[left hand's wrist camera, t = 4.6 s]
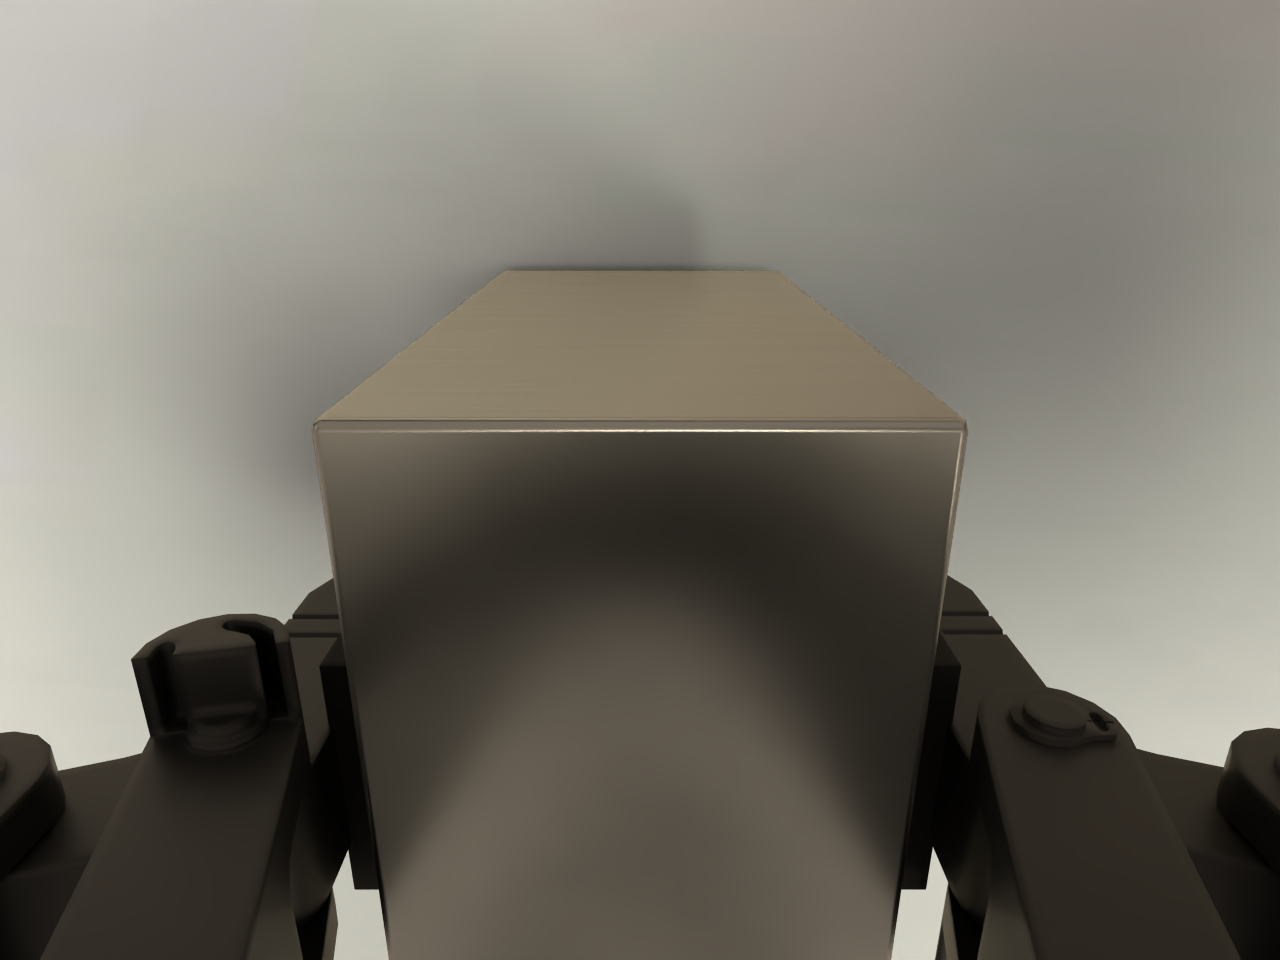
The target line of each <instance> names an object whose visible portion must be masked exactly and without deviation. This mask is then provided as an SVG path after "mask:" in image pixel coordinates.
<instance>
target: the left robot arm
mask: <svg viewBox="0 0 1280 960" xmlns="http://www.w3.org/2000/svg"><path fill="white" fill-rule="evenodd" d="M131 661H132V665H133V669H134V673H135V677H136V681H137V685H138V689H139V693H140V697H141V701H142V705H143V709H144V713H145V717H146V721H147V725H148V729H149V733H150V738H149V740H148V742H147V744H146V746H145V748H144V750H143V752H142V753H141V754H137V755H133V756H129V757H125V758H121V759H116V760H111V761H106V762H101V763H96V764H91V765H86V766H81V767H76V768H71V769H66V770H61V771H58V769H57V766H56V763H55V759H54V756H53V753H52V749H51V746H50V745H49V744H48V743H47V742H45V741H44V740H43V739H42V738H40V737H39V736H38V735H33V734H27V733H20V732H6V733H0V960H333V959H334V951H335V943H336V935H337V927H338V920H337V912H336V905H335V899H334V893H333V887H332V886H333V884H334V882H335V879H336V877H337V875H338V872H339V870H340V868H341V865H342V863H343V860H344V858H345V856H346V853H347V851H349V857H350V863H351V869H352V876H353V882H354V888H355V889H379V887H378V880H377V873H376V866H375V859H374V853H373V846H372V839H371V832H370V825H369V818H368V811H367V804H366V798H365V791H364V784H363V777H362V770H361V763H360V756H359V749H358V743H357V736H356V729H355V722H354V715H353V708H352V701H351V694H350V688H349V681H348V674H347V667H346V660H345V653H344V646H343V639H342V633H341V626H340V619H339V612H338V605H337V598H336V591H335V584H334V578H333V579H331V580H329V581H328V582H326V583H325V584H323V585H321V586H320V587H318V588H317V589H315V590H313V591H312V592H310V593H309V594H308V595H307V597H306V598H305V599H304V601H303V602H302V603H301V604H300V606H299V607H298V608H297V610H296V611H295V612H294V614H293V617H292V619H289V620H288V621H287V623H286V624H285V625H283V624H282V623H281V622H280V621H278V620H277V619H275V618H271V617H267V616H262V615H258V614H227V615H221V616H216V617H211V618H205V619H200V620H197V621H194V622H191V623H188V624H185V625H183V626H180V627H177V628H174V629H171V630H169V631H167V632H166V633H164V634H162V635H160V636H159V637H157V638H155V639H154V640H152V641H150V642H148V643H147V644H145V645H144V647H143V648H142V649H141V650H140V651H139V652H138V653H137V654H136V655H135V656H134V657H133V658H132V659H131ZM932 848H934V850H935V852H936V855H937V857H938V859H939V862H940V864H941V866H942V869H943V871H944V873H945V876H946V878H947V880H948V887H947V893H946V899H945V905H944V910H943V916H942V922H941V928H940V934H939V940H938V945H937V951H936V957H935V960H1280V729H1275V728H1263V729H1256V730H1250V731H1244V732H1243V733H1242V734H1240V735H1239V736H1238V737H1237V738H1236V739H1234V740H1233V741H1232V742H1231V745H1230V749H1229V752H1228V755H1227V759H1226V762H1225V765H1224V767H1219V766H1214V765H1209V764H1204V763H1199V762H1194V761H1189V760H1184V759H1179V758H1174V757H1169V756H1164V755H1159V754H1155V753H1151V752H1147V751H1143V750H1139V749H1136V747H1135V745H1134V743H1133V741H1132V739H1131V737H1130V735H1129V734H1128V733H1127V731H1126V730H1125V729H1124V728H1123V726H1122V725H1121V724H1120V723H1119V721H1118V720H1117V719H1116V718H1115V717H1114V716H1112V715H1111V714H1109V713H1108V712H1106V711H1105V710H1103V709H1102V708H1100V707H1099V706H1097V705H1096V704H1094V703H1093V702H1090V701H1088V700H1086V699H1083V698H1081V697H1078V696H1076V695H1074V694H1071V693H1069V692H1066V691H1062V690H1058V689H1053V688H1048V687H1046V685H1045V684H1044V683H1043V681H1042V680H1041V679H1040V678H1039V676H1038V675H1037V674H1036V672H1035V671H1034V670H1033V669H1032V667H1031V666H1030V665H1029V663H1028V662H1027V661H1026V660H1025V658H1024V657H1023V656H1022V654H1021V653H1020V652H1019V650H1018V649H1017V648H1016V647H1015V645H1014V644H1013V643H1012V641H1011V640H1010V639H1009V638H1008V636H1007V635H1003V630H1002V628H1001V627H1000V626H999V625H998V623H997V622H996V621H995V619H994V618H993V617H992V616H989V612H988V610H987V609H986V608H985V607H984V605H983V604H982V603H981V601H980V600H979V599H978V597H977V596H976V595H975V594H974V592H973V591H972V590H971V589H969V588H967V587H966V586H964V585H963V584H961V583H959V582H958V581H956V580H954V579H953V578H951V577H950V576H948V575H947V579H946V585H945V592H944V599H943V606H942V613H941V620H940V627H939V634H938V640H937V647H936V654H935V661H934V668H933V675H932V682H931V688H930V695H929V702H928V709H927V716H926V723H925V730H924V736H923V743H922V750H921V757H920V764H919V771H918V778H917V784H916V791H915V798H914V805H913V812H912V819H911V826H910V833H909V839H908V846H907V853H906V860H905V867H904V874H903V881H902V887H901V889H926V886H927V879H928V873H929V867H930V861H931V854H932Z"/></svg>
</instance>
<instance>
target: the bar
mask: <svg viewBox="0 0 1280 960" xmlns="http://www.w3.org/2000/svg"><path fill="white" fill-rule="evenodd" d="M312 433H313V440H314V447H315V454H316V461H317V468H318V475H319V481H320V488H321V495H322V502H323V509H324V516H325V523H326V529H327V536H328V543H329V550H330V557H331V564H332V571H333V578H334V584H335V591H336V598H337V605H338V612H339V619H340V626H341V633H342V639H343V646H344V653H345V660H346V667H347V674H348V681H349V688H350V694H351V701H352V708H353V715H354V722H355V729H356V736H357V743H358V749H359V756H360V763H361V770H362V777H363V784H364V791H365V798H366V804H367V811H368V818H369V825H370V832H371V839H372V846H373V853H374V859H375V866H376V873H377V880H378V887H379V894H380V901H381V908H382V914H383V921H384V928H385V935H386V942H387V949H388V956H389V960H891V956H892V949H893V942H894V935H895V929H896V922H897V915H898V908H899V901H900V894H901V887H902V881H903V874H904V867H905V860H906V853H907V846H908V839H909V833H910V826H911V819H912V812H913V805H914V798H915V791H916V784H917V778H918V771H919V764H920V757H921V750H922V743H923V736H924V730H925V723H926V716H927V709H928V702H929V695H930V688H931V682H932V675H933V668H934V661H935V654H936V647H937V640H938V634H939V627H940V620H941V613H942V606H943V599H944V592H945V585H946V579H947V572H948V565H949V558H950V551H951V544H952V537H953V531H954V524H955V517H956V510H957V503H958V496H959V489H960V483H961V476H962V469H963V462H964V455H965V448H966V441H967V435H968V426H967V423H966V420H964V419H963V418H962V417H961V416H959V415H958V414H957V413H956V412H954V411H953V410H952V409H950V408H949V407H948V406H947V405H945V404H944V403H943V402H942V401H940V400H939V399H938V398H937V397H935V396H934V395H933V394H932V393H930V392H929V391H928V390H927V389H925V388H924V387H923V386H922V385H920V384H919V383H918V382H916V381H915V380H914V379H913V378H911V377H910V376H909V375H908V374H906V373H905V372H904V371H903V370H901V369H900V368H899V367H898V366H896V365H895V364H894V363H893V362H891V361H890V360H889V359H887V358H886V357H885V356H884V355H882V354H881V353H880V352H879V351H877V350H876V349H875V348H874V347H872V346H871V345H870V344H869V343H867V342H866V341H865V340H864V339H862V338H861V337H860V336H858V335H857V334H856V333H855V332H853V331H852V330H851V329H850V328H848V327H847V326H846V325H845V324H843V323H842V322H841V321H840V320H838V319H837V318H836V317H835V316H833V315H832V314H831V313H829V312H828V311H827V310H826V309H824V308H823V307H822V306H821V305H819V304H818V303H817V302H816V301H814V300H813V299H812V298H811V297H809V296H808V295H807V294H806V293H804V292H803V291H802V290H800V289H799V288H798V287H797V286H795V285H794V284H793V283H792V282H790V281H789V280H788V279H787V278H785V277H784V276H783V275H782V274H780V273H779V272H777V271H504V272H502V273H500V274H499V275H498V276H496V277H495V278H494V279H493V280H491V281H490V282H489V283H488V284H486V285H485V286H484V287H483V288H481V289H480V290H479V291H478V292H476V293H475V294H474V295H472V296H471V297H470V298H469V299H467V300H466V301H465V302H464V303H462V304H461V305H460V306H459V307H457V308H456V309H455V310H453V311H452V312H451V313H450V314H448V315H447V316H446V317H445V318H443V319H442V320H441V321H440V322H438V323H437V324H436V325H435V326H433V327H432V328H431V329H429V330H428V331H427V332H426V333H424V334H423V335H422V336H421V337H419V338H418V339H417V340H416V341H414V342H413V343H412V344H410V345H409V346H408V347H407V348H405V349H404V350H403V351H402V352H400V353H399V354H398V355H397V356H395V357H394V358H393V359H391V360H390V361H389V362H388V363H386V364H385V365H384V366H383V367H381V368H380V369H379V370H378V371H376V372H375V373H374V374H373V375H371V376H370V377H369V378H367V379H366V380H365V381H364V382H362V383H361V384H360V385H359V386H357V387H356V388H355V389H354V390H352V391H351V392H350V393H348V394H347V395H346V396H345V397H343V398H342V399H341V400H340V401H338V402H337V403H336V404H335V405H333V406H332V407H331V408H330V409H328V410H327V411H326V412H324V413H323V414H322V415H321V416H319V417H318V418H317V419H316V420H314V423H313V427H312Z"/></svg>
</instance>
